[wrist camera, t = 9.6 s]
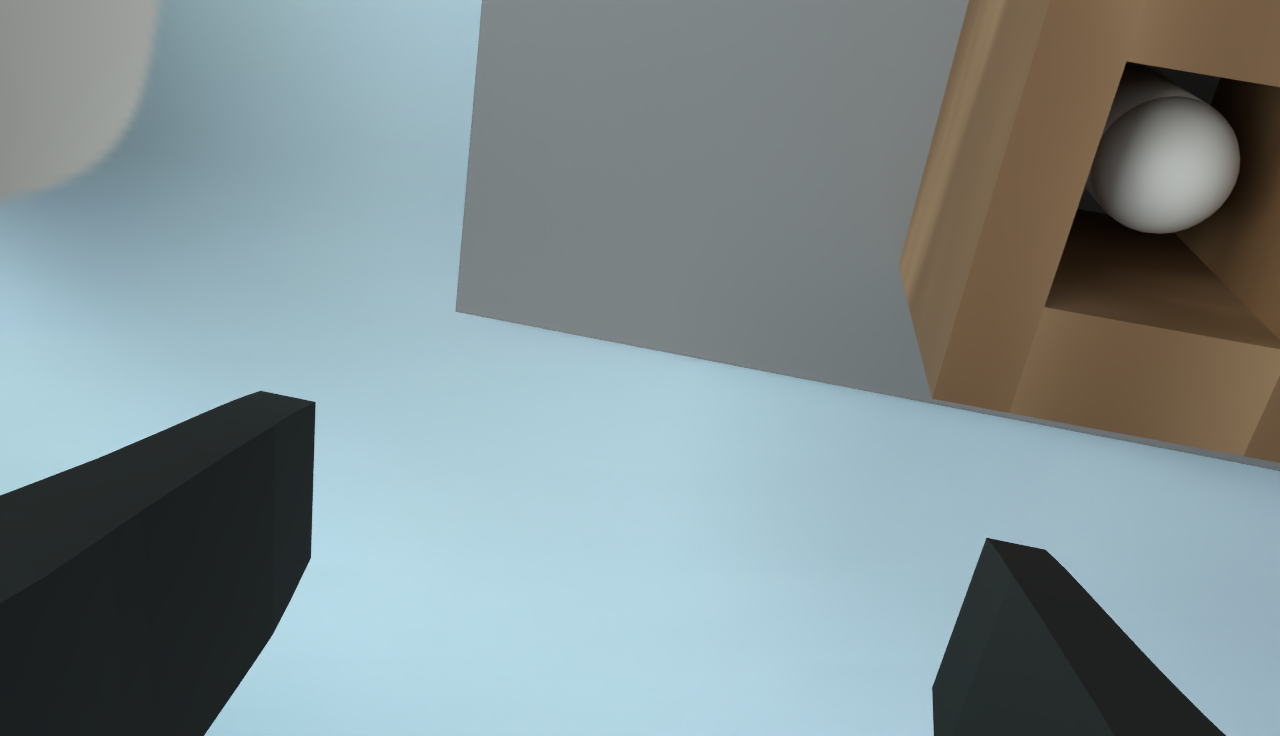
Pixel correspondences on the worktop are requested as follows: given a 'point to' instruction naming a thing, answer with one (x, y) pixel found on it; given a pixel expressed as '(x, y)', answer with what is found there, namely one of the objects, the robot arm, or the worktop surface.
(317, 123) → the worktop surface
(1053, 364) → the collar
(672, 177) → the hub board
